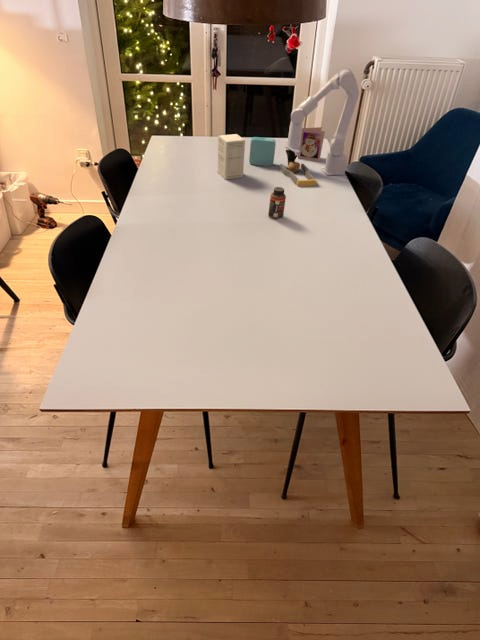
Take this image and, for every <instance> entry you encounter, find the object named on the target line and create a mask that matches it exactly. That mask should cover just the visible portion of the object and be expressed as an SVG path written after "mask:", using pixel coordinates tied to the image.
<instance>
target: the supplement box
mask: <svg viewBox="0 0 480 640" xmlns="http://www.w3.org/2000/svg"><path fill="white" fill-rule="evenodd" d="M217 136H218V139H217V141H218V143H217V145H218V146H217V173H218V174H219V175H220V176H221V177H222V178H223V179H224V180H231V179H233V180H234V179H239V178H241V179H242V178H243V177H244V168H245V167H244V166H245V165H244V164H245V149H246V148H245V147H246V139H244V138H243V137H241V136H240V135H239V134H238V133H234V134H233V133H232V134H224V135H222V134H221V135H217Z"/></svg>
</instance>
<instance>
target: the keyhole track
mask: <svg viewBox="0 0 480 640" xmlns="http://www.w3.org/2000/svg"><path fill="white" fill-rule="evenodd" d="M300 170H301V171H302V172H303V173H304V175H305V176H304V177H305V179H299V178H298V177H297V176H296V174H294V173H293V172H291V171H289V170H288V169H287V168H286V167H285V165H284V164H282V163H280V164H279V171H280V172H281V173H282V174H283V175H284V176H285V177H288V178H289V179H290V180H291V181H292V182H293V183H294V184H295V186H296V187H309V186H310V187H312V186H315V187H316V186H317V185H316V184H317V179H316V177H314V176H313V175H312V174H311V173H310V172H309V168H308V166H307V165H305V164H304V163H300Z"/></svg>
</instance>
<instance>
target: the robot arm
mask: <svg viewBox="0 0 480 640" xmlns="http://www.w3.org/2000/svg"><path fill="white" fill-rule="evenodd" d="M340 87H341V88H342V89H343V90H344V91H345V93H346V95H347V96H346V99H345V101H344V105H343V107H342V112H341V114H340V118H339V121H338V123H337V126H336V127H337V128H336V131H335V132H334V134H333V136H332V138H331V139H330V140H329V148H330V149H329V150H328V151H327V155H326V161H325V165H324V168H321V170H322V172H324V174H325V175H326V176H341V175H343V176H345V175H346V173H345V172H346V167H347V163H348V155H347V154H346V153H344V151H345V142H346V136H347V133H348V129H349V126H350V123H351V120H352V117H353V115H354V111H355V108H356V106H357V102H358V98H359V95H360V90H359V86H358V82H357V78H356V77H355V74H354V73H353V72H352V70H351V69H350V68H348V67H347V68H346V67H345V68H342V69H340V70H339V72H337V73H336V74H335V75H333V76H332V77H331V78H330V79H329V80H327V82H326V83H325V84H324V85H323V86H322V87H321V88H320V89H319V90H317V92H316V93H315V94H314V95H309V96H305V97H304V100H303V101H302V102H301V103H300V104H299V105H297V106H296V108H294V109H293V110H292V111H291V113H290V123H289V131H288V137H287V141H285V145H284V149H286V150H285V153H286V157H287V166H289V163H290V162H296V159H297V158H298V156H300V149H299V145H300V138H301V132H302V128H303V127H302V124H303V122H304V119H305V118H306V117H308V116H309V115H310V114H311V113H312V112H313V111H314V110H315V109H316V108H317V107H318V105H319V104H318V103H319V102H320V101H321V100H323V98H325V96H327V95H328V94H329V93H331V92H332V91H333V90H340Z"/></svg>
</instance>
